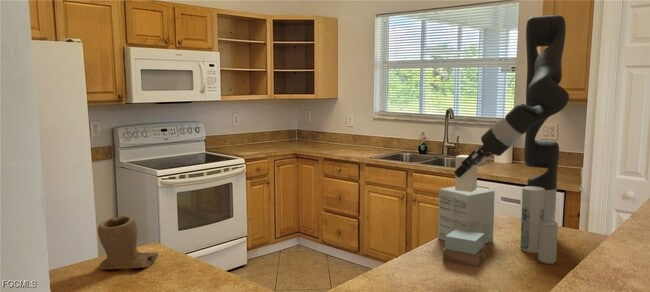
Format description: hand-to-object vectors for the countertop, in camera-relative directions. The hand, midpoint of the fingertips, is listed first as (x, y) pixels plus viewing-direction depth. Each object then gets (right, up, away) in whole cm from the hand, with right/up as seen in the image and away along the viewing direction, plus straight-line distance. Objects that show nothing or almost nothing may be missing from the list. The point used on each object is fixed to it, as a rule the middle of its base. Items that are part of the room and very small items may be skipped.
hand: (460, 173), depth 151 cm
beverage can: (+26, -26, -1) cm, 37 cm away
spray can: (+25, -25, +10) cm, 37 cm away
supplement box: (+7, -24, +21) cm, 33 cm away
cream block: (+2, -5, 0) cm, 5 cm away
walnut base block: (+2, -26, +2) cm, 27 cm away
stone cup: (-98, -28, -4) cm, 102 cm away
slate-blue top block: (+2, -22, +1) cm, 23 cm away
